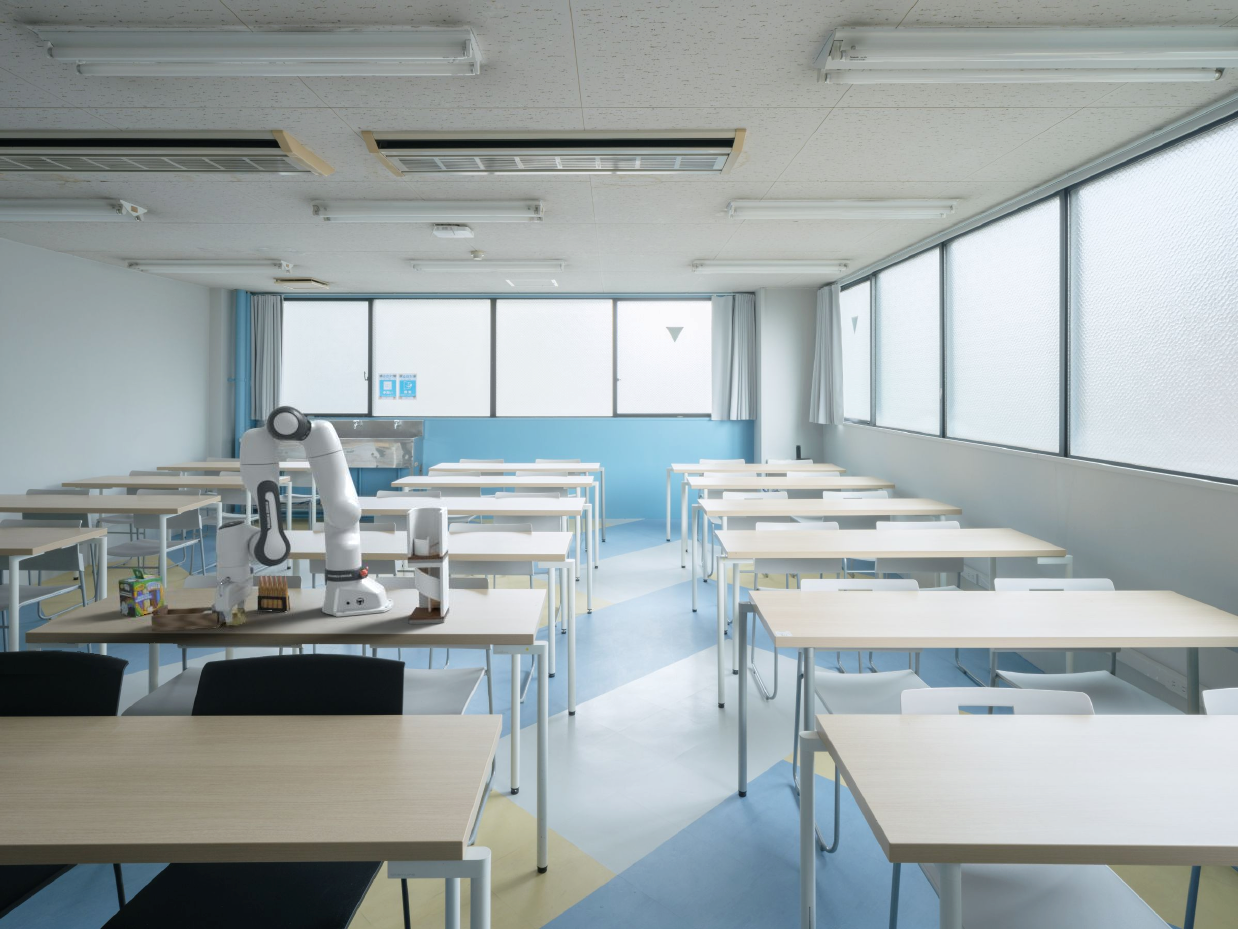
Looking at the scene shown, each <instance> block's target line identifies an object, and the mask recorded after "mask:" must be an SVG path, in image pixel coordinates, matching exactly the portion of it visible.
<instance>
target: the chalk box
mask: <svg viewBox="0 0 1238 929" xmlns="http://www.w3.org/2000/svg"><path fill="white" fill-rule="evenodd" d="M132 572H133V574H134V576H131V577H126V578H122V579H119V580H118V592H119V593H118V594H119V604H120V605H119V607H120V608H119V609H120V614H121V613H123V614H122V615H125V614H127V615H126V616H129V615H130V616H129V617H132V616H135V617H134V618H137V617H136V616H139V615H142V616H145V615H144V614H146V615H149V614H148V613H150V614H153V613H152V612H153V610H155V609H156V608H158V607H160V606H162V605H165V599H164V588H163V577H162V576H161V575H154V574H143V572H142V570H141V569H140V568H135V567H133V568H132ZM138 573H139V574H138ZM139 617H140V616H139Z"/></svg>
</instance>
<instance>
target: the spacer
mask: <svg viewBox="0 0 1238 929" xmlns="http://www.w3.org/2000/svg"><path fill="white" fill-rule="evenodd" d="M232 615H233V618H234V620H233V621H232V622H225V623H226V626H227V625H234V626H239V625H238V624H241V623H243V622H244V621H245V622H246V609H245V608H244V609H237V608H236V609H232ZM245 622H244V623H245ZM244 623H243V624H244ZM241 625H242V624H241Z"/></svg>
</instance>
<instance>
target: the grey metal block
mask: <svg viewBox="0 0 1238 929" xmlns="http://www.w3.org/2000/svg"><path fill="white" fill-rule="evenodd" d="M211 607H212V610H211V611H205V612H203V613H218V623H220V622H221V621H222V620H224V619H225V616H224V613H223V611H216V609H215V603H214V604H212V605H211Z"/></svg>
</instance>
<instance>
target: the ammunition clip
mask: <svg viewBox="0 0 1238 929" xmlns="http://www.w3.org/2000/svg"><path fill="white" fill-rule="evenodd" d="M273 576H274V577H272V575H271V574H270V575H268V576H267V575H266V574H264V577H263V576H262V574H259V576H258V587H257V590H258V592H257V593H258V594H257V611H258V610H272V611H271V612H275V611H287V612H289V610H290V611H291V605H290V603H291V602H290V595H289V587H288V580H287V577H286V575H284V576H283V577H282V576H281V575H278V578H277V576H276V575H273ZM282 578H283V579H282Z"/></svg>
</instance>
